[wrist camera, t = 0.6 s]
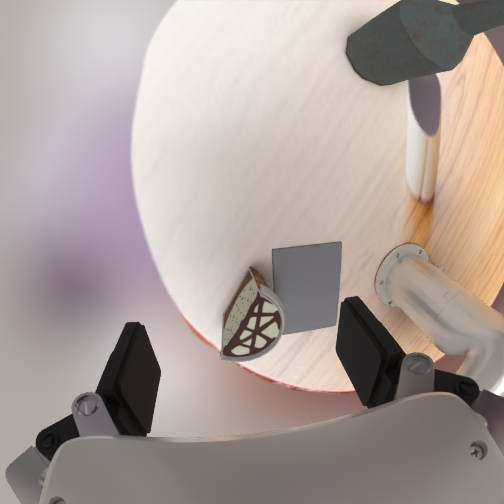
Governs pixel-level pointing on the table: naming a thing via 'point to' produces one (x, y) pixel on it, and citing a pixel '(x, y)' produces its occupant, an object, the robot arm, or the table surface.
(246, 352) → the food container
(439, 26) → the bottle
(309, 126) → the table surface
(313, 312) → the mat
